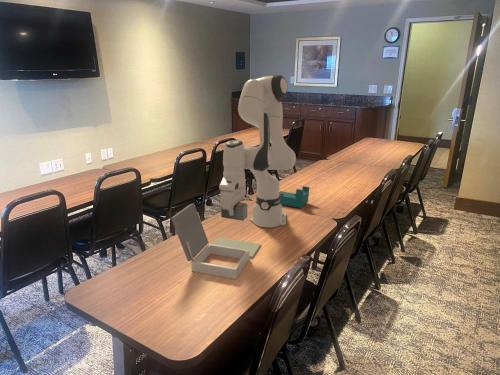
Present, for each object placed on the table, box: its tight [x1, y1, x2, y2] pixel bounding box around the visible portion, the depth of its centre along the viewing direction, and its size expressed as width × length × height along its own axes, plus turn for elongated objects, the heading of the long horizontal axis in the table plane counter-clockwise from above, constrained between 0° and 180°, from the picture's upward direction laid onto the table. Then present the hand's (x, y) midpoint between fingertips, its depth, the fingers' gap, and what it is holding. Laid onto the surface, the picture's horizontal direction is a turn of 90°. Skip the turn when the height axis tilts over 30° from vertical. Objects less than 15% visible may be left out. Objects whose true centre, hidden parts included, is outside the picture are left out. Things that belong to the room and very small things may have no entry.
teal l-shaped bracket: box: [279, 185, 310, 209], centre depth 207 cm, size 18×11×10 cm, turn 59°
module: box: [220, 202, 248, 222], centre depth 148 cm, size 4×10×6 cm, turn 68°
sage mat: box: [212, 237, 262, 259], centre depth 154 cm, size 12×20×1 cm, turn 72°
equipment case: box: [186, 241, 250, 280], centre depth 139 cm, size 16×20×12 cm
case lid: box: [170, 202, 210, 262], centre depth 140 cm, size 16×18×2 cm
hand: (234, 212), depth 149 cm, fingers closed on module, 5 cm apart
